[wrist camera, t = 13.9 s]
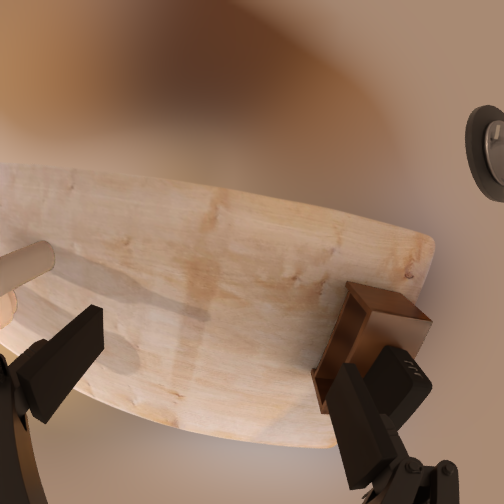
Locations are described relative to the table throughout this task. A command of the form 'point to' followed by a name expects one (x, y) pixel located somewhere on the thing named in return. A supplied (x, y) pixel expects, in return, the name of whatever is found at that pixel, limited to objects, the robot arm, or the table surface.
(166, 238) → the table surface
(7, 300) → the vase
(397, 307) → the shelf
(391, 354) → the electronic device
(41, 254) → the bottle
